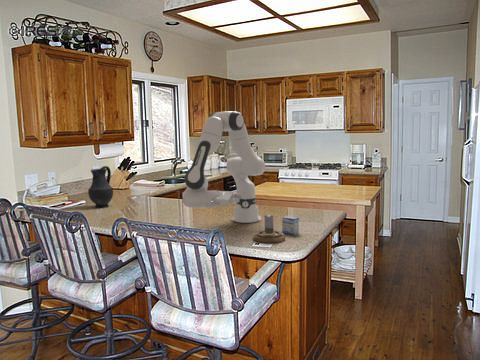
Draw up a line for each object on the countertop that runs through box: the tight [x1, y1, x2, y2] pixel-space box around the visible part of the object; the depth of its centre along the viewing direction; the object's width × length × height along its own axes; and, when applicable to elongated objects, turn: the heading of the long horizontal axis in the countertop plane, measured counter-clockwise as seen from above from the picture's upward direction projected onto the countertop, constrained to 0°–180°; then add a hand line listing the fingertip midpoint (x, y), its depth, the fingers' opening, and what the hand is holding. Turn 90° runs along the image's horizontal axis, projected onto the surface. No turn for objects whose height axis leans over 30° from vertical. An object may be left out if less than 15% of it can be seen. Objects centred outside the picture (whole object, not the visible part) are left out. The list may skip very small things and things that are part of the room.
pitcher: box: [87, 165, 114, 209], centre depth 303 cm, size 17×21×30 cm
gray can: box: [263, 214, 276, 236], centre depth 205 cm, size 6×6×10 cm
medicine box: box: [281, 215, 300, 236], centre depth 216 cm, size 8×4×9 cm, turn 52°
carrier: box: [253, 229, 286, 244], centre depth 205 cm, size 16×16×3 cm
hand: (240, 198), depth 208 cm, fingers open, 8 cm apart
